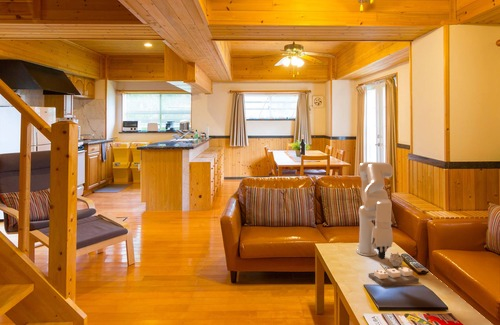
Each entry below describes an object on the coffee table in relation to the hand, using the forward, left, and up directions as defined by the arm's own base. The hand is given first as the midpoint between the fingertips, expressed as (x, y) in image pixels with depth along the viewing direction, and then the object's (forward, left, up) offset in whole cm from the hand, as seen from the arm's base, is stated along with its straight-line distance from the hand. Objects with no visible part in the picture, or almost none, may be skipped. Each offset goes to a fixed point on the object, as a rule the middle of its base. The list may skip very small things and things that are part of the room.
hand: (381, 258), depth 178 cm
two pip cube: (0, +15, -10) cm, 18 cm away
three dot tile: (0, 0, -10) cm, 10 cm away
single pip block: (0, +7, -10) cm, 12 cm away
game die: (-15, +20, -13) cm, 28 cm away
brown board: (0, +7, -12) cm, 14 cm away
